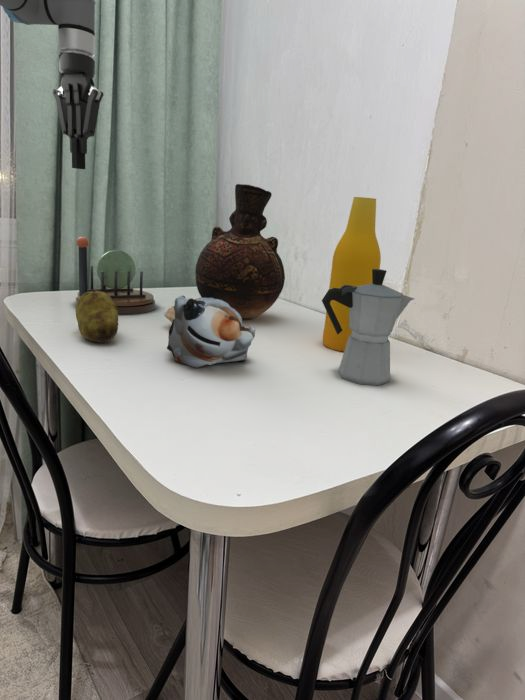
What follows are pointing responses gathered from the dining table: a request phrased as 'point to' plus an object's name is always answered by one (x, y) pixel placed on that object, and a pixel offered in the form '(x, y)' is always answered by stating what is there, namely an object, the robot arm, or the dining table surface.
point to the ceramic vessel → (242, 258)
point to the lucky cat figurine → (207, 332)
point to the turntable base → (133, 308)
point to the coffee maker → (367, 328)
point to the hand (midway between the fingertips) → (78, 168)
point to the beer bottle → (352, 265)
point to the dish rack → (112, 276)
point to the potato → (97, 316)
